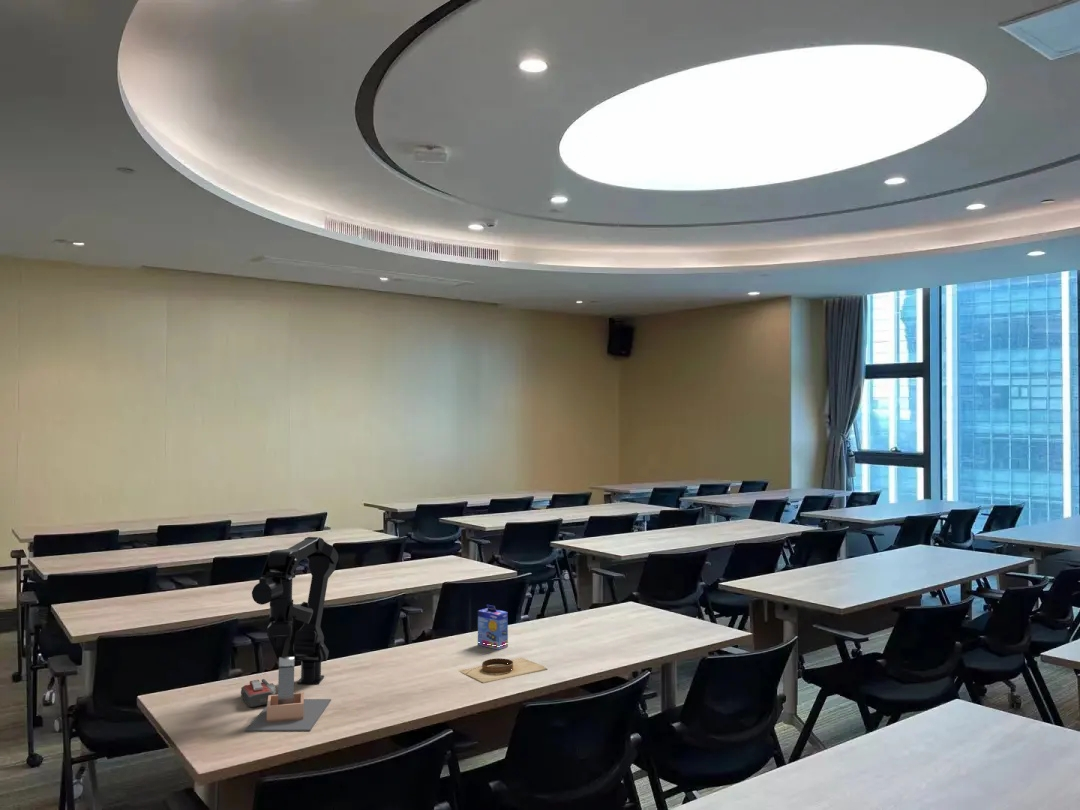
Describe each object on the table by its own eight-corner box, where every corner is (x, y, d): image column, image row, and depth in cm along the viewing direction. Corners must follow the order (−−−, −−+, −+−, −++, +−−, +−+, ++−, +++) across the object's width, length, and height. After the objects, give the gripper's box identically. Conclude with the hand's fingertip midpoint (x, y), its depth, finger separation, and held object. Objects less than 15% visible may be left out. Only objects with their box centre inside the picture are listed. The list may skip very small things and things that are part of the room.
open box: (268, 710, 204) (268, 695, 204) (303, 707, 207) (303, 692, 207) (266, 722, 196) (266, 706, 196) (303, 719, 198) (303, 703, 198)
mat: (272, 700, 213) (272, 699, 213) (331, 700, 213) (331, 699, 214) (244, 731, 191) (244, 729, 191) (310, 731, 192) (310, 729, 192)
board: (481, 686, 229) (481, 675, 229) (455, 673, 241) (455, 662, 241) (548, 671, 244) (548, 661, 244) (520, 659, 256) (520, 650, 256)
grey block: (278, 710, 202) (279, 655, 203) (293, 709, 203) (294, 654, 204) (277, 715, 199) (278, 659, 200) (293, 714, 200) (294, 658, 201)
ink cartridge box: (476, 645, 270) (477, 603, 271) (486, 642, 275) (487, 601, 276) (498, 650, 265) (498, 607, 265) (508, 646, 269) (508, 604, 270)
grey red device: (283, 702, 210) (266, 684, 227) (283, 686, 210) (266, 668, 227) (249, 709, 205) (235, 690, 222) (249, 692, 205) (235, 674, 222)
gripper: (311, 602, 207) (310, 661, 206) (311, 588, 224) (310, 643, 224) (267, 604, 203) (266, 664, 203) (270, 590, 221) (269, 645, 221)
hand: (279, 654), depth 213 cm, fingers open, 9 cm apart
